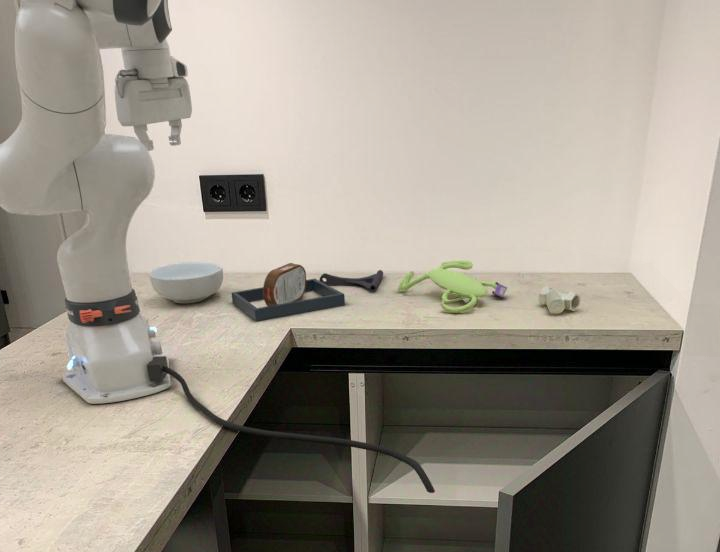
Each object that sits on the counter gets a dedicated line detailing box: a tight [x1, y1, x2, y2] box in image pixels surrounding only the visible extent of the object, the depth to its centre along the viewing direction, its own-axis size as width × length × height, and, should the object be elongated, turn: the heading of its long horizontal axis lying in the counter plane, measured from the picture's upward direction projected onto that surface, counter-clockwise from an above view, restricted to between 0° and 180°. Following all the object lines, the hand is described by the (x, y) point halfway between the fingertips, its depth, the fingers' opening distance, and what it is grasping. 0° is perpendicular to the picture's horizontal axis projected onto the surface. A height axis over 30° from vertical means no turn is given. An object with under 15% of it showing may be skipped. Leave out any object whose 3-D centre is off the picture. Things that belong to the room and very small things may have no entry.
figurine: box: [397, 260, 508, 314], centre depth 165 cm, size 18×27×6 cm
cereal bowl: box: [148, 261, 224, 304], centre depth 173 cm, size 17×17×7 cm
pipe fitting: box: [538, 286, 582, 315], centre depth 152 cm, size 8×4×7 cm
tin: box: [263, 262, 307, 307], centre depth 165 cm, size 15×3×8 cm, turn 153°
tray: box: [230, 278, 346, 322], centre depth 167 cm, size 17×21×2 cm
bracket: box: [318, 269, 384, 293], centre depth 179 cm, size 14×15×3 cm
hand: (162, 147), depth 146 cm, fingers open, 8 cm apart
